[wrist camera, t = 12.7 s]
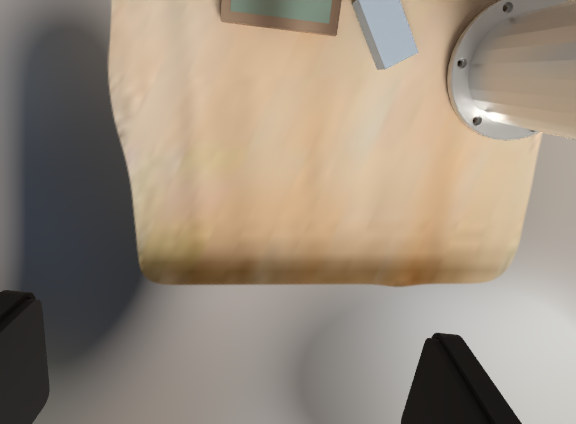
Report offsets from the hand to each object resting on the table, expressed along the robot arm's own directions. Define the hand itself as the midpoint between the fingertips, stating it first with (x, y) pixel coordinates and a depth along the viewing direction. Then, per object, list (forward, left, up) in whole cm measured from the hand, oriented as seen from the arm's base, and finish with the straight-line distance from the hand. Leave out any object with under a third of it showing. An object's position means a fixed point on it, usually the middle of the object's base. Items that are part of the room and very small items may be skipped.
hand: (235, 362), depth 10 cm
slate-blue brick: (-9, -11, -30) cm, 34 cm away
